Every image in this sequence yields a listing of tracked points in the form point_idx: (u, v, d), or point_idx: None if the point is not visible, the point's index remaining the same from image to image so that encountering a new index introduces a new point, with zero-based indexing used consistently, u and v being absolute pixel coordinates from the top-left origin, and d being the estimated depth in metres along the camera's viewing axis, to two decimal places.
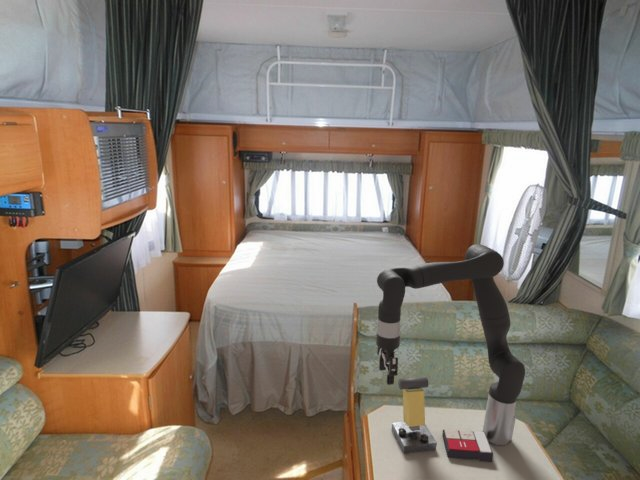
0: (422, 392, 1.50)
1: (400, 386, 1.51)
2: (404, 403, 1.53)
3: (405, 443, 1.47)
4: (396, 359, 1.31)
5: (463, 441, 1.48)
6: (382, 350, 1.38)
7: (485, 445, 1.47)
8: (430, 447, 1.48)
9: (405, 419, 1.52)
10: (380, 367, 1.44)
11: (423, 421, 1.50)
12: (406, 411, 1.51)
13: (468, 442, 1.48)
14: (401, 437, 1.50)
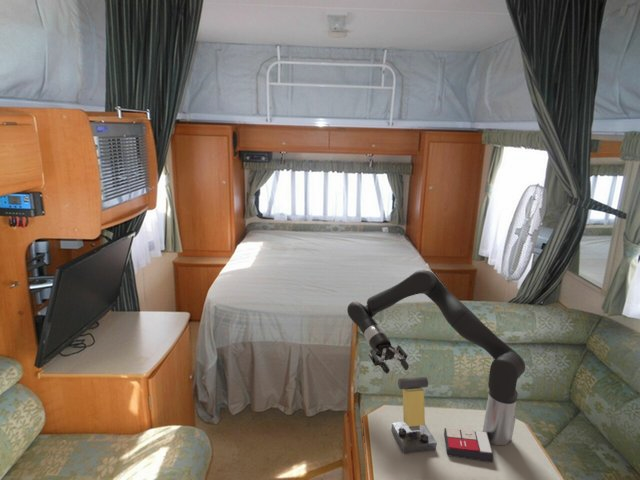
0: (422, 392, 1.51)
1: (400, 386, 1.51)
2: (404, 403, 1.53)
3: (405, 443, 1.47)
4: (370, 351, 1.61)
5: (464, 441, 1.48)
6: None
7: (486, 445, 1.47)
8: (430, 447, 1.48)
9: (405, 419, 1.52)
10: (404, 368, 1.60)
11: (423, 420, 1.50)
12: (406, 411, 1.51)
13: (469, 442, 1.48)
14: (401, 437, 1.50)
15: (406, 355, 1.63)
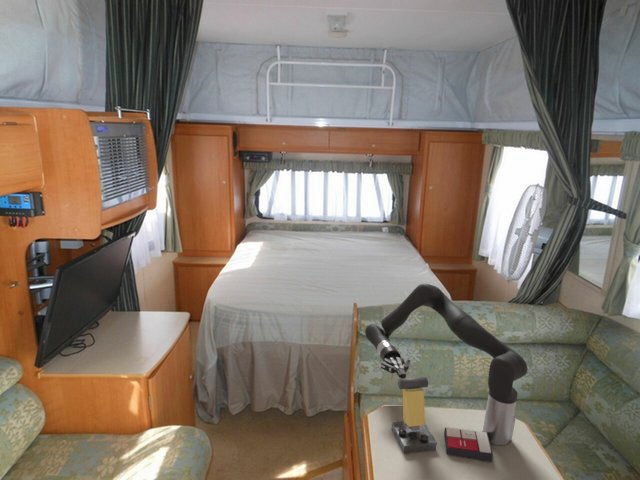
0: (422, 392, 1.51)
1: (400, 386, 1.51)
2: (404, 403, 1.53)
3: (405, 443, 1.47)
4: (381, 363, 1.68)
5: (463, 440, 1.49)
6: None
7: (485, 445, 1.47)
8: (430, 447, 1.48)
9: (405, 419, 1.52)
10: None
11: (423, 420, 1.50)
12: (406, 411, 1.51)
13: (468, 442, 1.48)
14: (401, 437, 1.50)
15: (405, 366, 1.66)
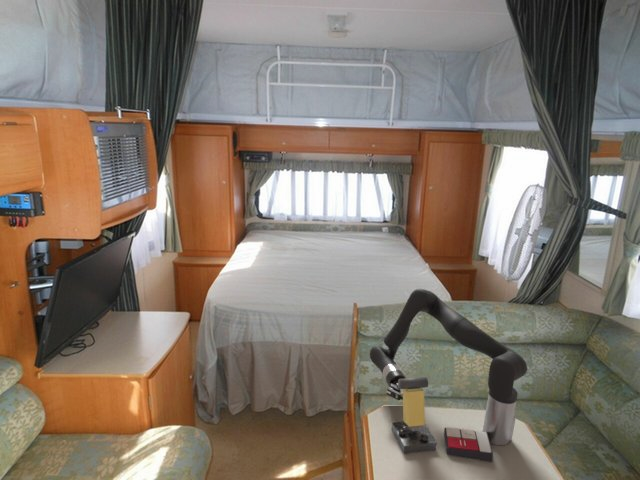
0: (422, 392, 1.50)
1: (400, 386, 1.51)
2: (404, 403, 1.53)
3: (405, 443, 1.47)
4: (387, 389, 1.62)
5: (464, 440, 1.48)
6: None
7: (485, 445, 1.47)
8: (430, 447, 1.48)
9: (405, 419, 1.52)
10: None
11: (423, 421, 1.50)
12: (406, 411, 1.51)
13: (468, 441, 1.48)
14: (401, 437, 1.50)
15: None
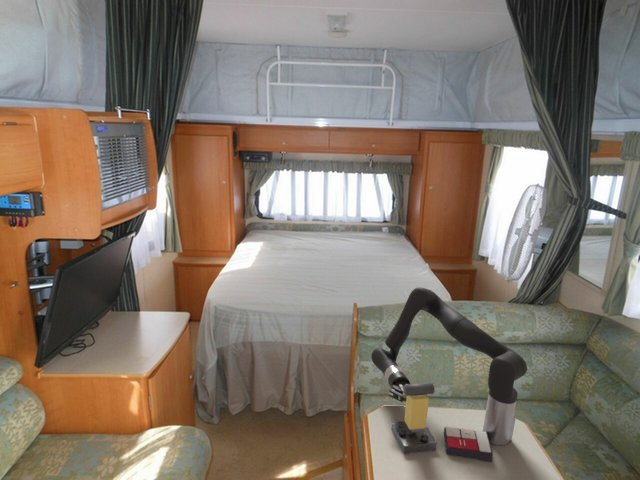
0: (427, 399, 1.47)
1: (405, 392, 1.47)
2: (407, 406, 1.50)
3: (405, 443, 1.47)
4: (389, 391, 1.59)
5: (463, 440, 1.49)
6: None
7: (485, 445, 1.47)
8: (430, 447, 1.48)
9: (406, 420, 1.51)
10: None
11: (424, 424, 1.49)
12: (408, 414, 1.49)
13: (468, 441, 1.48)
14: (401, 437, 1.50)
15: None
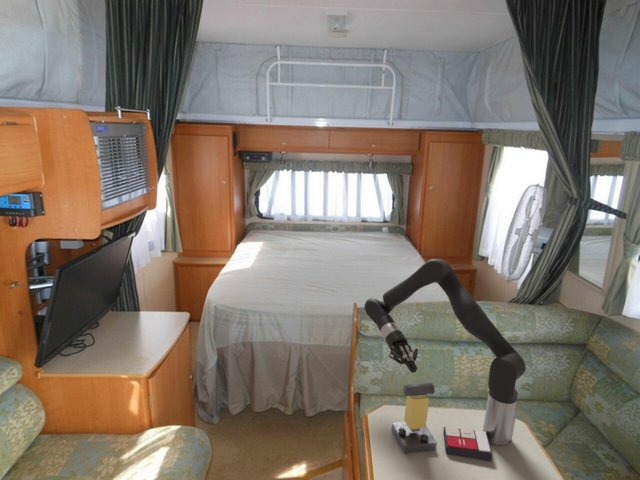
0: (427, 399, 1.47)
1: (405, 392, 1.47)
2: (407, 406, 1.50)
3: (405, 443, 1.47)
4: (390, 353, 1.59)
5: (463, 439, 1.49)
6: None
7: (485, 444, 1.47)
8: (430, 447, 1.48)
9: (406, 420, 1.51)
10: None
11: (424, 424, 1.49)
12: (408, 414, 1.49)
13: (468, 441, 1.49)
14: (401, 437, 1.50)
15: (415, 357, 1.59)
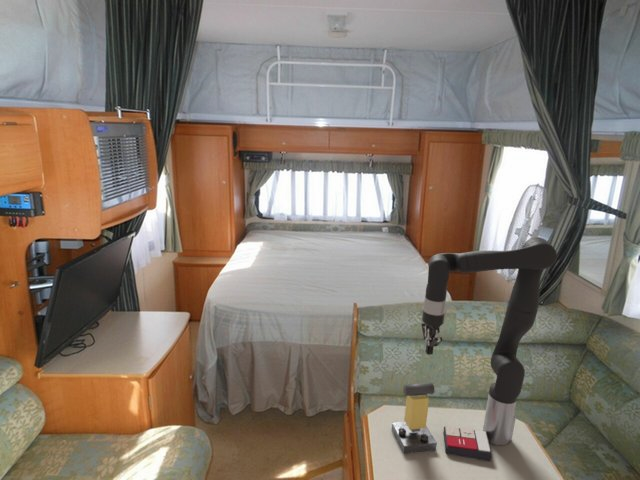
0: (427, 399, 1.47)
1: (405, 392, 1.47)
2: (407, 406, 1.50)
3: (405, 443, 1.47)
4: (441, 340, 1.48)
5: (463, 439, 1.49)
6: (427, 325, 1.53)
7: (484, 444, 1.47)
8: (430, 447, 1.48)
9: (406, 420, 1.51)
10: None
11: (424, 424, 1.49)
12: (408, 414, 1.49)
13: (467, 440, 1.49)
14: (401, 437, 1.50)
15: None
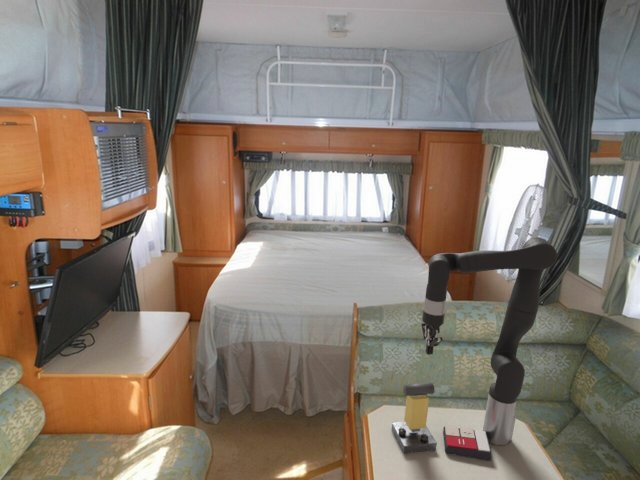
0: (427, 399, 1.47)
1: (405, 392, 1.47)
2: (407, 406, 1.50)
3: (405, 443, 1.47)
4: (441, 340, 1.48)
5: (462, 439, 1.49)
6: (427, 325, 1.53)
7: (484, 444, 1.47)
8: (430, 447, 1.48)
9: (406, 420, 1.51)
10: None
11: (424, 424, 1.49)
12: (408, 414, 1.49)
13: (467, 440, 1.49)
14: (401, 437, 1.50)
15: None
